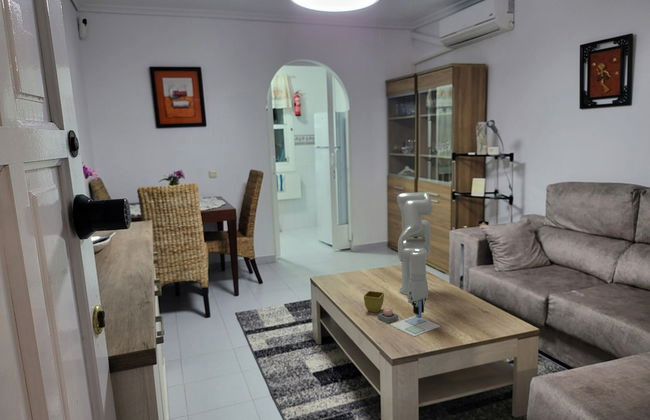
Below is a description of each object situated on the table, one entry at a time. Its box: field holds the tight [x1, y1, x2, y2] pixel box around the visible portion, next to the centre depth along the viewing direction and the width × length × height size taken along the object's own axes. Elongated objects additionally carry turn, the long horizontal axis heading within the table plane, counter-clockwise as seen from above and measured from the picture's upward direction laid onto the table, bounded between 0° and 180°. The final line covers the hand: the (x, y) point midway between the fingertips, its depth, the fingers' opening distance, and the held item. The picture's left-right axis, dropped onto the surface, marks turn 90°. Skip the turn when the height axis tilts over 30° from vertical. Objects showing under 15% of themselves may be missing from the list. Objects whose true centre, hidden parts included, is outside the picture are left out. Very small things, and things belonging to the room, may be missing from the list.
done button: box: [383, 307, 394, 317], centre depth 218 cm, size 4×4×3 cm
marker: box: [415, 299, 423, 318], centre depth 213 cm, size 3×3×10 cm
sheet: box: [389, 314, 441, 338], centre depth 209 cm, size 17×16×1 cm
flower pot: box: [363, 290, 385, 313], centre depth 230 cm, size 9×9×9 cm
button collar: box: [377, 312, 399, 324], centre depth 218 cm, size 7×7×2 cm
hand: (418, 312), depth 214 cm, fingers closed on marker, 2 cm apart
